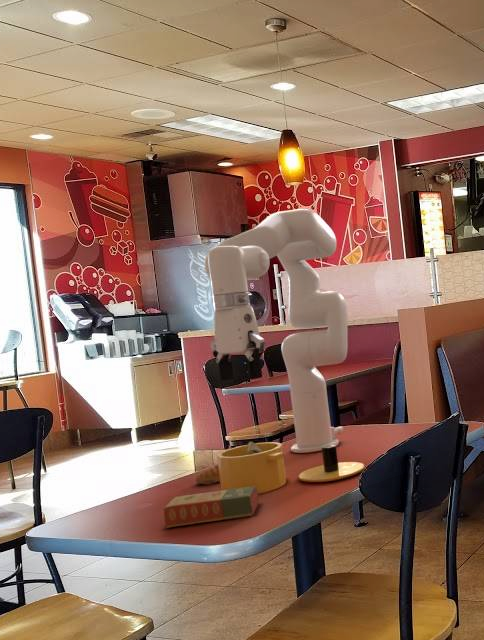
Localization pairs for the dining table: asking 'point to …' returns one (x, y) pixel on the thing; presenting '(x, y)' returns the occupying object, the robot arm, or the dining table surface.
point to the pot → (252, 467)
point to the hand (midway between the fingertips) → (241, 379)
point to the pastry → (209, 476)
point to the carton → (211, 506)
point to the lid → (331, 468)
